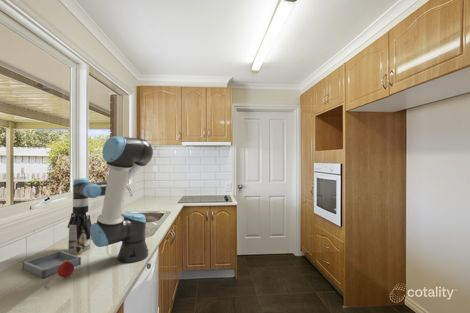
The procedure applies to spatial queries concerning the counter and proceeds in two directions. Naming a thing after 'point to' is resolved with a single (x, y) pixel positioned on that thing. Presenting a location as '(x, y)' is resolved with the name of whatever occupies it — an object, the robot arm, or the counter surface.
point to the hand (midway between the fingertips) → (79, 242)
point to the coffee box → (76, 239)
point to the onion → (65, 269)
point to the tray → (49, 263)
